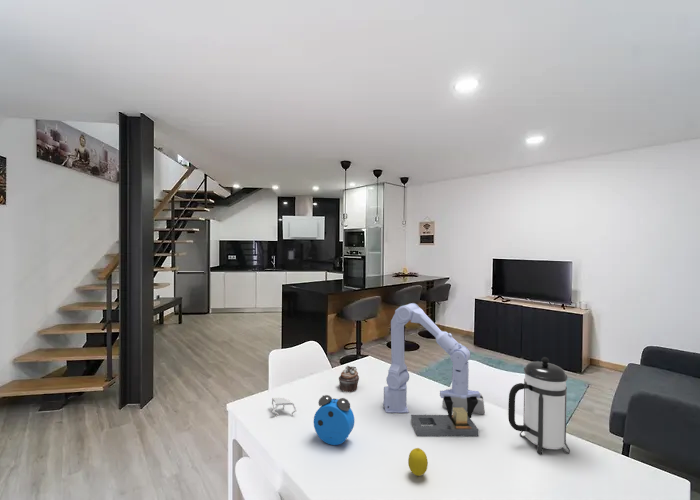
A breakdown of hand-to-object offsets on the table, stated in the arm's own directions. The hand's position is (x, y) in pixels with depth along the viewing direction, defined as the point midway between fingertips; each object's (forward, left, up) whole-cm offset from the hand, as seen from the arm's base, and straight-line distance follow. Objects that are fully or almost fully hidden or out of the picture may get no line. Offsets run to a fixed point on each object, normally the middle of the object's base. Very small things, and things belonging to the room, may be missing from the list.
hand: (459, 416), depth 119 cm
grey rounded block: (+7, +14, -5) cm, 17 cm away
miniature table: (-67, +10, -5) cm, 68 cm away
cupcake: (-40, +34, -5) cm, 53 cm away
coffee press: (+25, -10, -5) cm, 27 cm away
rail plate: (-6, 0, -4) cm, 7 cm away
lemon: (-21, -25, -5) cm, 33 cm away
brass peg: (0, 0, -4) cm, 5 cm away
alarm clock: (-46, -8, -5) cm, 47 cm away
